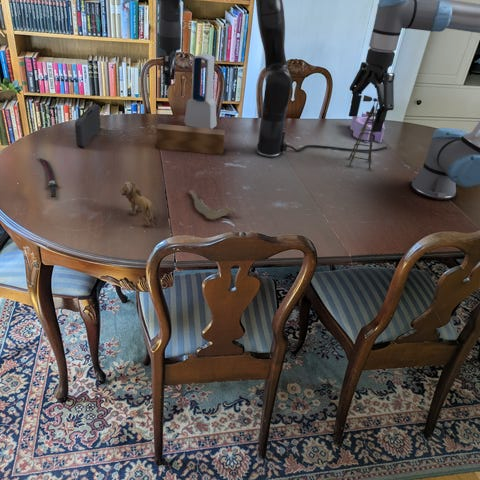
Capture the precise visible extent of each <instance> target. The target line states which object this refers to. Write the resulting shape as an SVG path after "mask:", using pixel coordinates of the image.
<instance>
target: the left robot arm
mask: <svg viewBox="0 0 480 480" xmlns="http://www.w3.org/2000/svg"><path fill="white" fill-rule="evenodd" d="M255 7H256V16H257V25H258V30H259V35H260V40H261V44H262V47H263V53H264V66H265V68H264V69H265V71H264V72H265V73H264V74H265V75H264V80H265V81H264V82H265V86H264V87H265V88H264V96H263V101H262V105H261V114H260V123H259V131H258V138H257V139H258V140H257V143H256V153H257V154H258V155H259V156H262V157H264V158H265V157H266V158H277V157H279V156H281V155H282V154H283V152H287V149H288V148H289V149H292V150H293V151H294V152H301V151H303V150H304V149H305V148H321V149H322V148H323V149H334V150H341V151H350V152H352V150H353V148H346V147H338V146H329V145H321V144H320V145H319V144H307V145H303V146H302V147H301V148H299V149H296V147H294V146H292V145H288V143H287V142H285V136H286V130H284V128H285V122H286V115H287V108H288V105H289V103H290V101H289V100H290V96H291V95H290V94H291V90H292V76H291V74H290V71H289V68H288V63H287V57H286V51H285V41H286V20H285V18H286V17H285V8H284V2H283V0H255ZM181 19H182V6H181V0H160V3H159V23H158V47H159V49H160V50H163V51H165V52H164V54H163V55H162V74H163V75H164V82H163V83H164V86H168V87H169V86H172V81H174V80H175V79H176V78H175V75H176V74H175V73H176V68H177V51H180V50H181V48H182V20H181ZM387 148H388V145H386V146H382V147H378V148H372V151H371V152H375V151H382V150H384V149H387ZM357 151H362V152H369V148H368V149H367V148H366V149H359V148H357Z"/></svg>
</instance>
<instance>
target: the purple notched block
mask: <svg viewBox="0 0 480 480" xmlns="http://www.w3.org/2000/svg"><path fill="white" fill-rule="evenodd" d="M367 117H368V116H367V115H366V112H361V115H357V116H352V118H351V122H350V126H349V129H350V130H351V131H353V132H352V136H353V137H354V138H356V139H358V137H359V135H360V133H361V129H362V128H363V126H364V124H365V122H366V118H367ZM372 118H373V117H372ZM372 118H370V119H371V120H372ZM374 121H375V118H374ZM368 122H372V121H370V120H369V121H368ZM373 125H374V124H373ZM371 128H372V123H368V124H367V126H366V129H368V130H371ZM385 129H386V127H385V122H384V123H383V126H382V130H381V132H373V136H374V139H373V140H374V142H376V143H382V140H383V137H384V132H385ZM364 133H370V134H371V131H367V130H365V131H364ZM361 135H362V134H361ZM360 137H361V136H360ZM370 137H371V135H369V134H363V136H362V138H361V139H363V140H370ZM363 142H364V143H368V142H369V141H363Z"/></svg>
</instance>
